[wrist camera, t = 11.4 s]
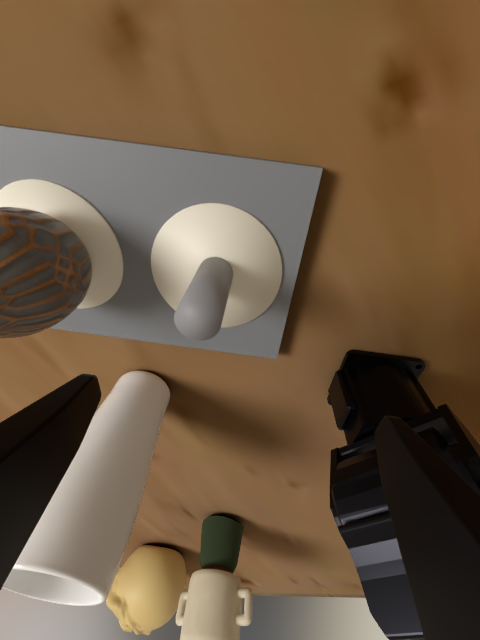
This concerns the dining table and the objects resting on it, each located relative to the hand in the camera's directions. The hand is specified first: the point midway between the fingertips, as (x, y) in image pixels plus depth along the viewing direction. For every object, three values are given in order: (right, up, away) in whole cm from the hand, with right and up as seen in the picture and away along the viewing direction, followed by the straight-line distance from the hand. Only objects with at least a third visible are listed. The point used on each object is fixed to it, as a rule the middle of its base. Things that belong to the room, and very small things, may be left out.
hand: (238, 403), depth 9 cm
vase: (-12, +7, +11) cm, 18 cm away
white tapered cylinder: (-9, -4, +19) cm, 22 cm away
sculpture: (-15, -41, +44) cm, 62 cm away
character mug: (-3, -29, +35) cm, 45 cm away
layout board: (-7, +7, +12) cm, 15 cm away
